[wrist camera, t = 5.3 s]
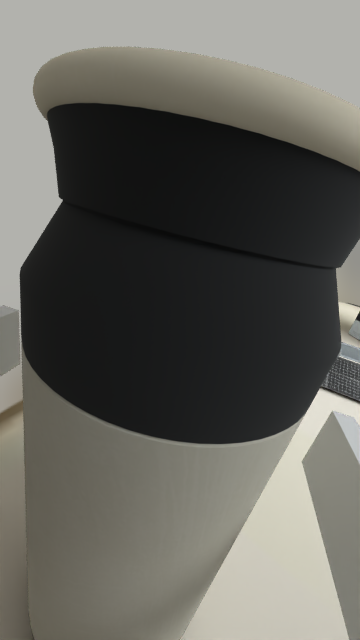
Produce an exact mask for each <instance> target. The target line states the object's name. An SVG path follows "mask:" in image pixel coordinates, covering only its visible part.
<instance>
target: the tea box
mask: <svg viewBox="0 0 360 640" xmlns="http://www.w3.org/2000/svg"><path fill="white" fill-rule="evenodd" d="M349 335H351V336H353V337H354V338H356V339H358V340H359V341H360V312H359V314H358V316H357V318H356V319H355V321H354V323H353V325H352V327H351V329H350V331H349Z"/></svg>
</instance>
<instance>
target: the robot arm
mask: <svg viewBox="0 0 360 640" xmlns="http://www.w3.org/2000/svg"><path fill="white" fill-rule="evenodd" d="M19 364H20V341H19V310H16V309H13V308H10V307H6V306H4V305H3V306H0V376H2V375H3V374H5V373H6V372H8V371H10V370H11V369H13V368H14V367H16V366H17V365H19ZM302 463H303V467H304V471H305V475H306V478H307V482H308V486H309V490H310V493H311V497H312V501H313V505H314V508H315V512H316V516H317V520H318V523H319V527H320V531H321V535H322V538H323V542H324V546H325V550H326V553H327V557H328V561H329V565H330V568H331V572H332V576H333V580H334V583H335V587H336V591H337V595H338V598H339V602H340V606H341V610H342V613H343V617H344V621H345V625H346V628H347V632H348V636H349V640H360V427H359V425H358V423H357V422H356V420H355V418H354V417H351V416H348V415H345V414H342V413H339V412H335V411H332V412H331V414H330V416H329V417H328V419H327V421H326V422H325V424H324V426H323V427H322V429H321V431H320V432H319V434H318V436H317V437H316V439H315V441H314V442H313V444H312V445H311V447H310V449H309V450H308V452H307V454H306V455H305V457H304V459H303V460H302Z"/></svg>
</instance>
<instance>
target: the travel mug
mask: <svg viewBox="0 0 360 640" xmlns="http://www.w3.org/2000/svg"><path fill="white" fill-rule="evenodd" d="M33 95H34V98H35V102H36V105H37V107H38V109H39V110H40V112H41V113H42V115H43V116H44V118H46V120H47V121H48V124H49V128H50V133H51V137H52V142H53V146H54V154H55V163H56V173H57V181H58V182H57V183H58V193H59V197H60V198H61V199H63V202H62V203H61V205H60V206H59V208H58V209H57V211H56V213H55V214H54V216H53V217H52V219H51V220H50V222H49V224H48V225H47V227H46V228H45V230H44V232H43V233H42V235H41V236H40V238H39V240H38V241H37V243H36V244H35V246H34V248H33V249H32V251H31V252H30V254H29V256H28V257H27V259H26V260H25V262H24V264H23V265H22V267H21V270H20V298H21V335H22V336H21V337H22V374H23V375H22V379H23V419H24V458H25V498H26V538H27V577H28V609H29V619H30V625H31V629H32V633H33V637H34V640H180V639H181V637H182V635H183V633H184V632H185V630H186V628H187V626H188V624H189V623H190V621H191V619H192V617H193V615H194V614H195V612H196V610H197V608H198V606H199V605H200V603H201V601H202V599H203V597H204V596H205V594H206V592H207V590H208V588H209V587H210V585H211V583H212V581H213V579H214V578H215V576H216V574H217V572H218V570H219V569H220V567H221V565H222V563H223V561H224V560H225V558H226V556H227V554H228V552H229V551H230V549H231V547H232V545H233V543H234V542H235V540H236V538H237V536H238V534H239V533H240V531H241V529H242V527H243V525H244V524H245V522H246V520H247V518H248V516H249V515H250V513H251V511H252V509H253V507H254V506H255V504H256V502H257V500H258V498H259V497H260V495H261V493H262V491H263V489H264V488H265V486H266V484H267V482H268V480H269V479H270V477H271V475H272V473H273V471H274V470H275V468H276V466H277V464H278V462H279V461H280V459H281V457H282V455H283V453H284V452H285V450H286V448H287V446H288V444H289V443H290V441H291V439H292V437H293V435H294V434H295V432H296V430H297V428H298V426H299V425H300V423H301V421H302V419H303V417H304V416H305V414H306V412H307V410H308V408H309V407H310V405H311V403H312V401H313V399H314V398H315V396H316V394H317V392H318V390H319V389H320V387H321V385H322V383H323V381H324V380H325V378H326V376H327V374H328V372H329V371H330V369H331V367H332V365H333V363H334V362H335V360H336V358H337V356H338V354H339V353H340V350H341V332H340V319H339V306H338V293H337V279H336V268H339V267H341V266H342V264H343V263H344V261H345V260H346V258H347V257H348V255H349V254H350V252H351V251H352V249H353V248H354V246H355V245H356V243H357V242H358V240H359V239H360V108H358V107H357V106H355V105H353V104H351V103H349V102H347V101H345V100H343V99H341V98H339V97H336V96H334V95H332V94H330V93H328V92H325V91H323V90H321V89H318V88H316V87H313V86H310V85H308V84H305V83H303V82H300V81H297V80H295V79H292V78H289V77H286V76H282V75H279V74H276V73H273V72H270V71H267V70H263V69H260V68H256V67H253V66H248V65H245V64H240V63H237V62H233V61H229V60H225V59H219V58H215V57H209V56H204V55H199V54H194V53H187V52H179V51H173V50H165V49H155V48H141V47H100V48H90V49H82V50H77V51H73V52H69V53H65V54H62V55H60V56H58V57H55V58H53V59H51V60H50V61H48V62H47V63H46V64H44V65H43V66H42V67H41V68H40V70H39V71H38V73H37V74H36V76H35V79H34V85H33Z"/></svg>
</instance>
